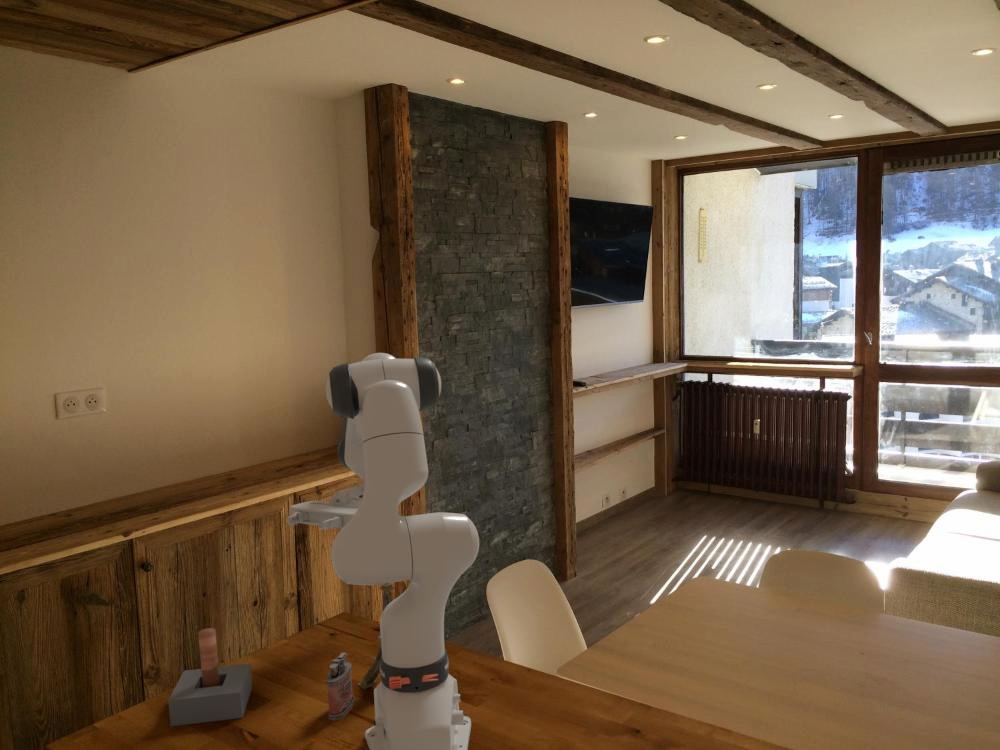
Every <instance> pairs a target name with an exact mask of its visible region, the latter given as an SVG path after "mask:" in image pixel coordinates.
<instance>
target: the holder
mask: <svg viewBox="0 0 1000 750" xmlns="http://www.w3.org/2000/svg"><path fill="white" fill-rule="evenodd" d="M219 675H220V686H214V687H205V688H203V682H202V671H201V668H196V669H195V668H194V669H187V670H183V672H182V673H181V675H180V678H179V679H178V680H177V681H178V682H177V683H176V685H175V687H174V688H173V691H172V693H171V694H170V696H169V698H168V701H167V703H168V710H169V711H168V712H169V713H168V714H169V722H170V723H169V724H170V727H177V726H184V725H194V724H202V723H210V722H211V723H212V722H217V721H218V722H220V721H226V720H234V719H235V720H236V719H243V718H244V714H245V712H246V708H247V705H248V702H249V699H250V695H251V693H252V689H253V678H252V667H251V663H250V662H249V663H248V662H247V663H240V664H233V665H232V664H231V665H223V666H219Z"/></svg>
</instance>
